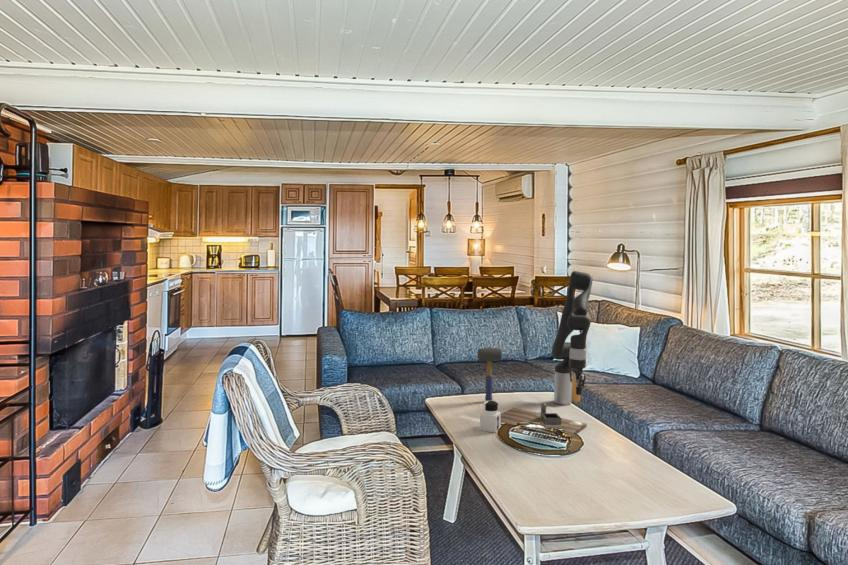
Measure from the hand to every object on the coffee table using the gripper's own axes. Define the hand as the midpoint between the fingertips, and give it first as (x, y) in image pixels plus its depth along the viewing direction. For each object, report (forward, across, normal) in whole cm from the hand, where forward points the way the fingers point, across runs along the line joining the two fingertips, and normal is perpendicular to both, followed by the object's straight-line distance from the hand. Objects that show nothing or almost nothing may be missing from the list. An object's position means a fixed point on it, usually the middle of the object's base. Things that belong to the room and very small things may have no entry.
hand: (576, 393), depth 253 cm
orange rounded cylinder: (+4, 0, 0) cm, 4 cm away
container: (+17, -2, -41) cm, 44 cm away
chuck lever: (+15, -2, -13) cm, 20 cm away
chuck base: (+16, -5, -17) cm, 24 cm away
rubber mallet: (+16, -44, -31) cm, 56 cm away
